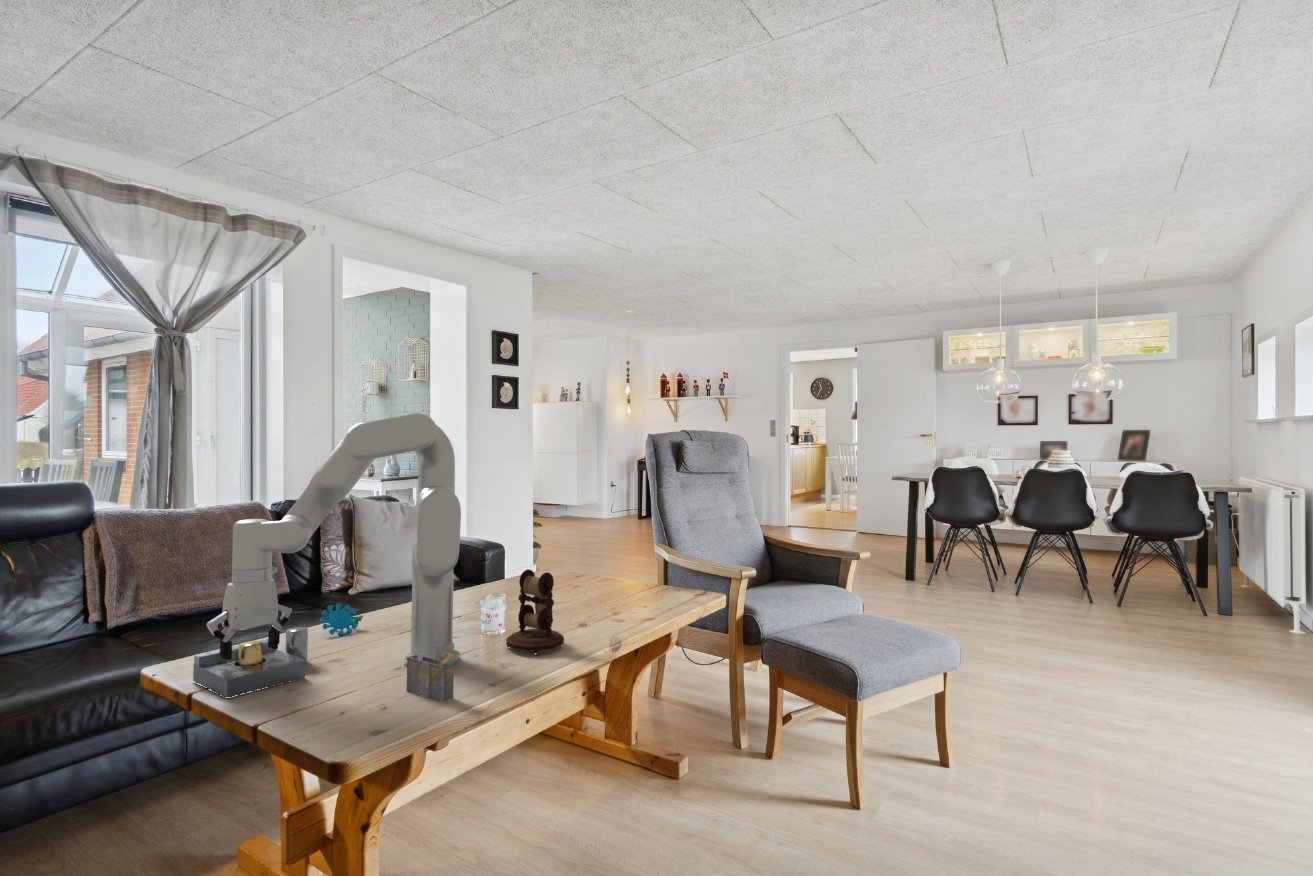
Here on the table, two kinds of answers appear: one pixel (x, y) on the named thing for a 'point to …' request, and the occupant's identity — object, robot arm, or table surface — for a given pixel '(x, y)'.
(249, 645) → the brass cylinder plug
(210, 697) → the table surface
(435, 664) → the rusty open-top box
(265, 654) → the jig
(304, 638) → the metal cylinder plug
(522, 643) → the brown spool rack
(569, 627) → the table surface
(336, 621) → the blue spiky piece
